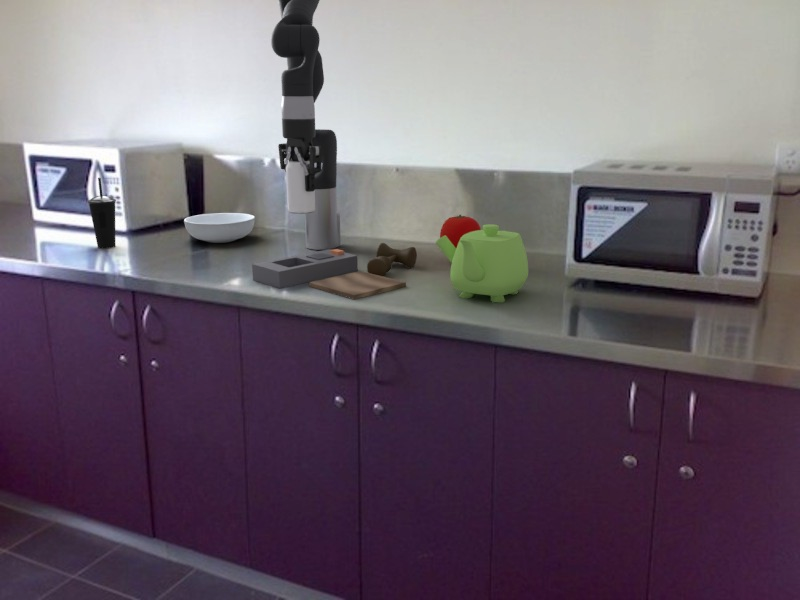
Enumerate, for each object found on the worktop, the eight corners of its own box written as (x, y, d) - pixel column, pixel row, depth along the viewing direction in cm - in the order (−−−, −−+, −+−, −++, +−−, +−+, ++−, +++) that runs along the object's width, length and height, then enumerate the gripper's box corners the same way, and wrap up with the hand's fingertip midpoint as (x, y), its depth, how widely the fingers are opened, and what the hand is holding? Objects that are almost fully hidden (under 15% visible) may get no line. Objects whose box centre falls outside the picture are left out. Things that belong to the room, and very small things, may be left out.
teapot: (456, 277, 193) (457, 212, 188) (540, 288, 182) (543, 220, 178) (405, 301, 172) (405, 229, 168) (495, 315, 161) (498, 239, 157)
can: (310, 214, 182) (308, 162, 179) (283, 213, 183) (281, 161, 180) (319, 210, 188) (317, 159, 185) (293, 209, 189) (291, 158, 186)
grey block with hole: (330, 264, 207) (329, 246, 205) (357, 271, 199) (357, 252, 198) (252, 280, 191) (251, 260, 189) (279, 288, 183) (278, 268, 182)
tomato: (487, 266, 203) (488, 217, 199) (447, 269, 200) (448, 219, 197) (472, 257, 213) (473, 210, 210) (434, 259, 211) (435, 212, 207)
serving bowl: (266, 235, 246) (265, 213, 244) (238, 248, 226) (237, 225, 224) (205, 232, 250) (203, 210, 248) (172, 245, 231) (170, 222, 229)
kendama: (357, 278, 194) (389, 259, 212) (393, 283, 191) (422, 263, 208) (357, 254, 192) (389, 237, 210) (393, 259, 189) (423, 241, 207)
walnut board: (360, 274, 195) (360, 270, 195) (405, 286, 184) (405, 282, 184) (309, 286, 184) (309, 282, 184) (354, 299, 173) (353, 295, 173)
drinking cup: (126, 245, 230) (119, 177, 225) (104, 250, 224) (96, 180, 219) (109, 243, 234) (102, 175, 229) (87, 247, 228) (79, 178, 223)
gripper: (330, 117, 177) (332, 191, 182) (293, 115, 187) (296, 185, 192) (303, 118, 172) (306, 194, 177) (266, 116, 182) (270, 188, 187)
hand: (301, 189), depth 184 cm, fingers closed on can, 6 cm apart
